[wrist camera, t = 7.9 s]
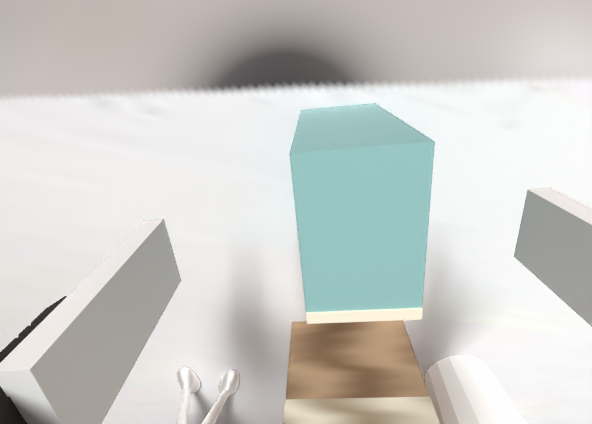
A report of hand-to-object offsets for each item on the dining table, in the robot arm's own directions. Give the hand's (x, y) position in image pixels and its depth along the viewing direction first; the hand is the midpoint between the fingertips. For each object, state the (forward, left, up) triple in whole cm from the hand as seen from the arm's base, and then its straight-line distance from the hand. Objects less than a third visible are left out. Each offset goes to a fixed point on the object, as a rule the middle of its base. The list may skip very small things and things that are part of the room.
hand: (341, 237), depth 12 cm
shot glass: (+10, -21, -11) cm, 25 cm away
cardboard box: (+1, -18, -11) cm, 21 cm away
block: (+1, 0, -11) cm, 10 cm away
